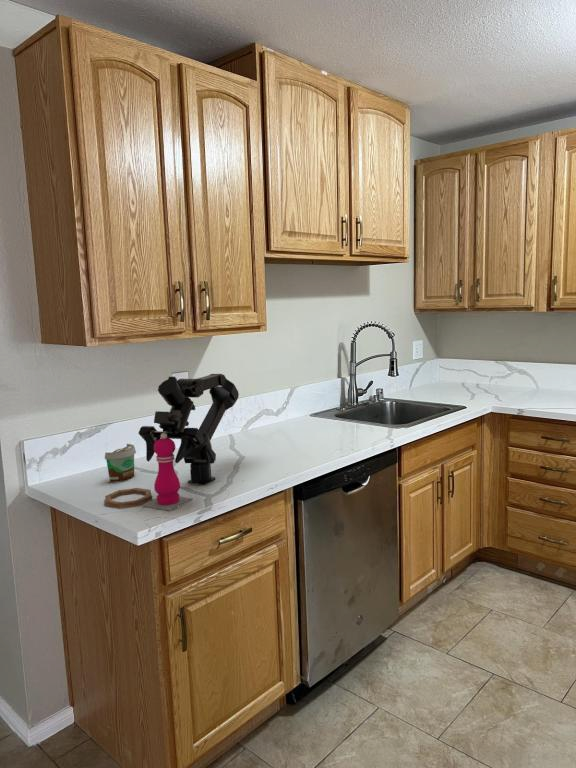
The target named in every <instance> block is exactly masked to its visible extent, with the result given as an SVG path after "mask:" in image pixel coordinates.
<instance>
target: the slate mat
mask: <svg viewBox="0 0 576 768" xmlns="http://www.w3.org/2000/svg"><path fill="white" fill-rule="evenodd" d="M192 499H194V498H193V497H186V496H181V495H179V501H178V502H177V503H175V504H171V505H161V504H158V503H157V497H156V498H155V499H152V500H150V501H148V502H146V503H144V504H141V506H142V507H143V508H148V509H154V508H155V510H160V509H162V510H161V511H166V510H168V511H167V512H172V511H173V509H174V510H175V508H176V509H177V507H178V506H179V507H181V506H183V505H185V504H187V503H189V502H191V501H192ZM190 500H191V501H190ZM188 501H189V502H188ZM186 502H187V503H186ZM184 503H185V504H184ZM182 504H183V505H182ZM180 505H181V506H180ZM179 507H178V508H179ZM171 510H172V511H171Z"/></svg>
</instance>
